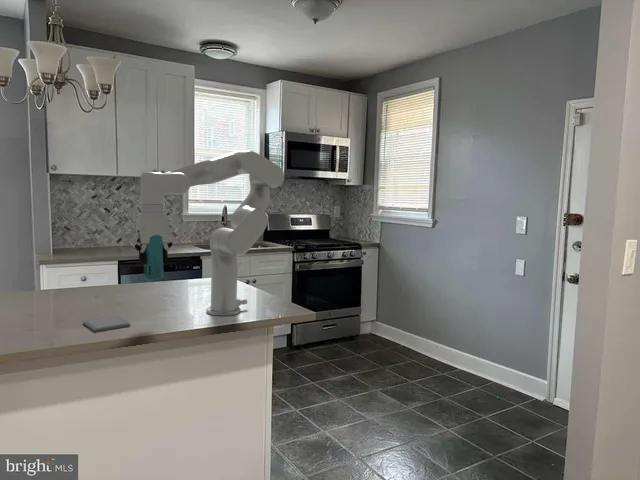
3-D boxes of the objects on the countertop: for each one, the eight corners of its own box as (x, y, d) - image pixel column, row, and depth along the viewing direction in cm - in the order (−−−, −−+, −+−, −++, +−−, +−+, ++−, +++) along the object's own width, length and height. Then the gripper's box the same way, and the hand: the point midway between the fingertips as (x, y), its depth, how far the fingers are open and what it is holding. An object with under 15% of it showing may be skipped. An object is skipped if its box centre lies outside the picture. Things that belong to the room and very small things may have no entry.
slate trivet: (117, 318, 161) (117, 316, 161) (130, 326, 153) (130, 323, 153) (83, 323, 154) (83, 321, 154) (95, 332, 146) (95, 329, 146)
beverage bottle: (166, 280, 161) (165, 222, 159) (160, 284, 155) (159, 224, 152) (147, 279, 161) (146, 222, 159) (140, 284, 154) (139, 223, 152)
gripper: (172, 208, 164) (172, 259, 166) (122, 209, 152) (123, 263, 154) (182, 209, 158) (182, 262, 160) (131, 210, 146) (132, 267, 148)
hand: (153, 262), depth 157 cm, fingers closed on beverage bottle, 6 cm apart
